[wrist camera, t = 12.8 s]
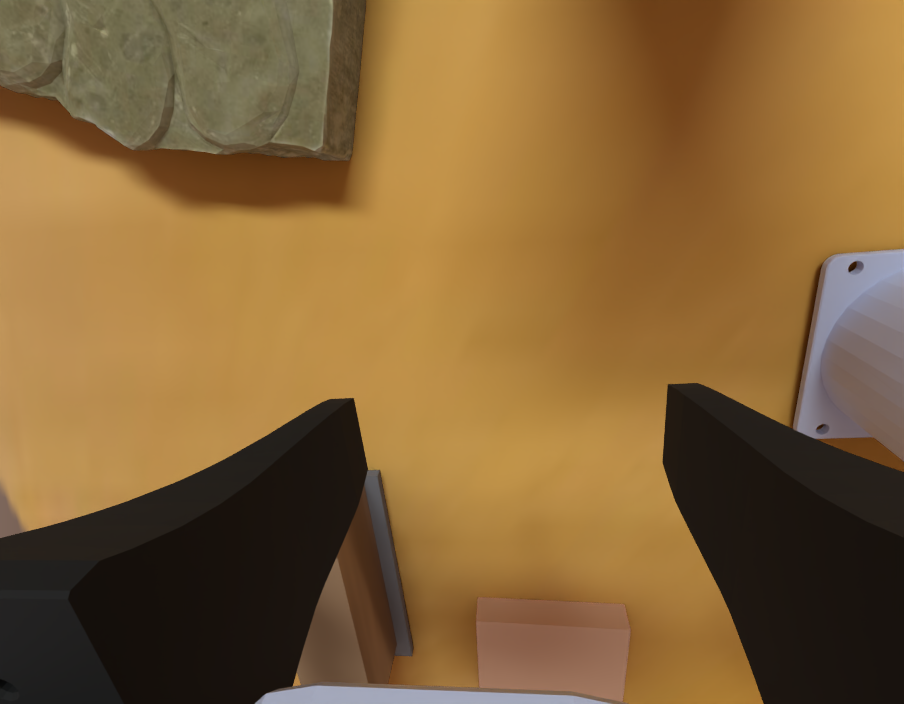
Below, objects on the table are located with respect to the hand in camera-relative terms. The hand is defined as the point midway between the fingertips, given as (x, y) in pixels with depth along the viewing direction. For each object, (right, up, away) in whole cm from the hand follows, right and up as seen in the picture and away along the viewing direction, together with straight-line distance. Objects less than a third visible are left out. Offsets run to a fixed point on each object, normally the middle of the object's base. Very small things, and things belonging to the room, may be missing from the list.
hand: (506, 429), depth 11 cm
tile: (+4, -12, +15) cm, 20 cm away
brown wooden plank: (-7, -10, +16) cm, 20 cm away
